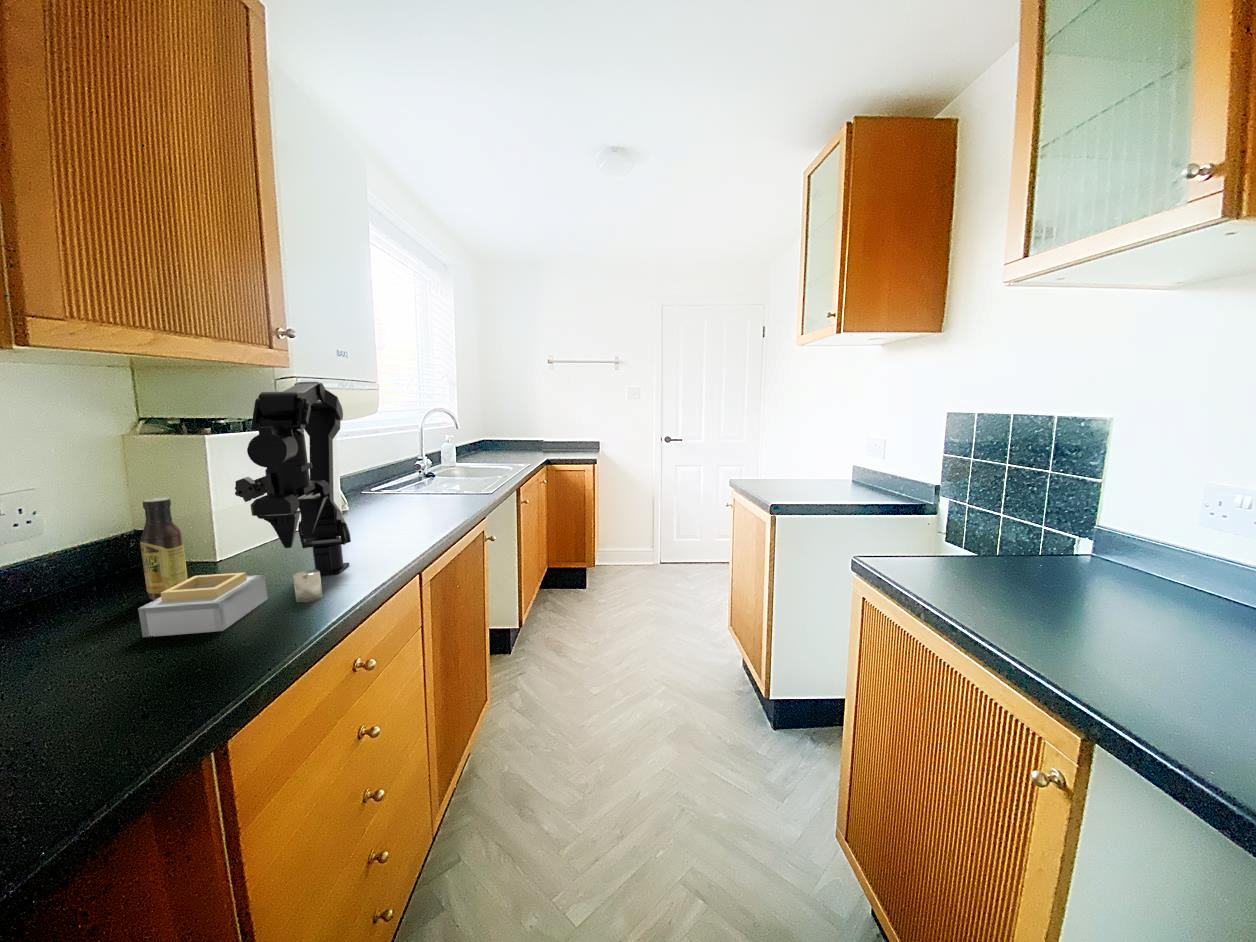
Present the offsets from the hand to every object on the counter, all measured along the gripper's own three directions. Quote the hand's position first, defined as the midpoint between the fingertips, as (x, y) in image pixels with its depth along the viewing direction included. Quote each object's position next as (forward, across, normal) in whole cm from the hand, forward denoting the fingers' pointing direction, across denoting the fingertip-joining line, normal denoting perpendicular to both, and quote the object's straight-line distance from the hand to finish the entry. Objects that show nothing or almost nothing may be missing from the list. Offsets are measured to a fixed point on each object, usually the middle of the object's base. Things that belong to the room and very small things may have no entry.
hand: (299, 540), depth 98 cm
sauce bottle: (+12, -8, -28) cm, 32 cm away
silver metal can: (+12, 0, 0) cm, 12 cm away
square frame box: (+12, +5, -14) cm, 19 cm away
